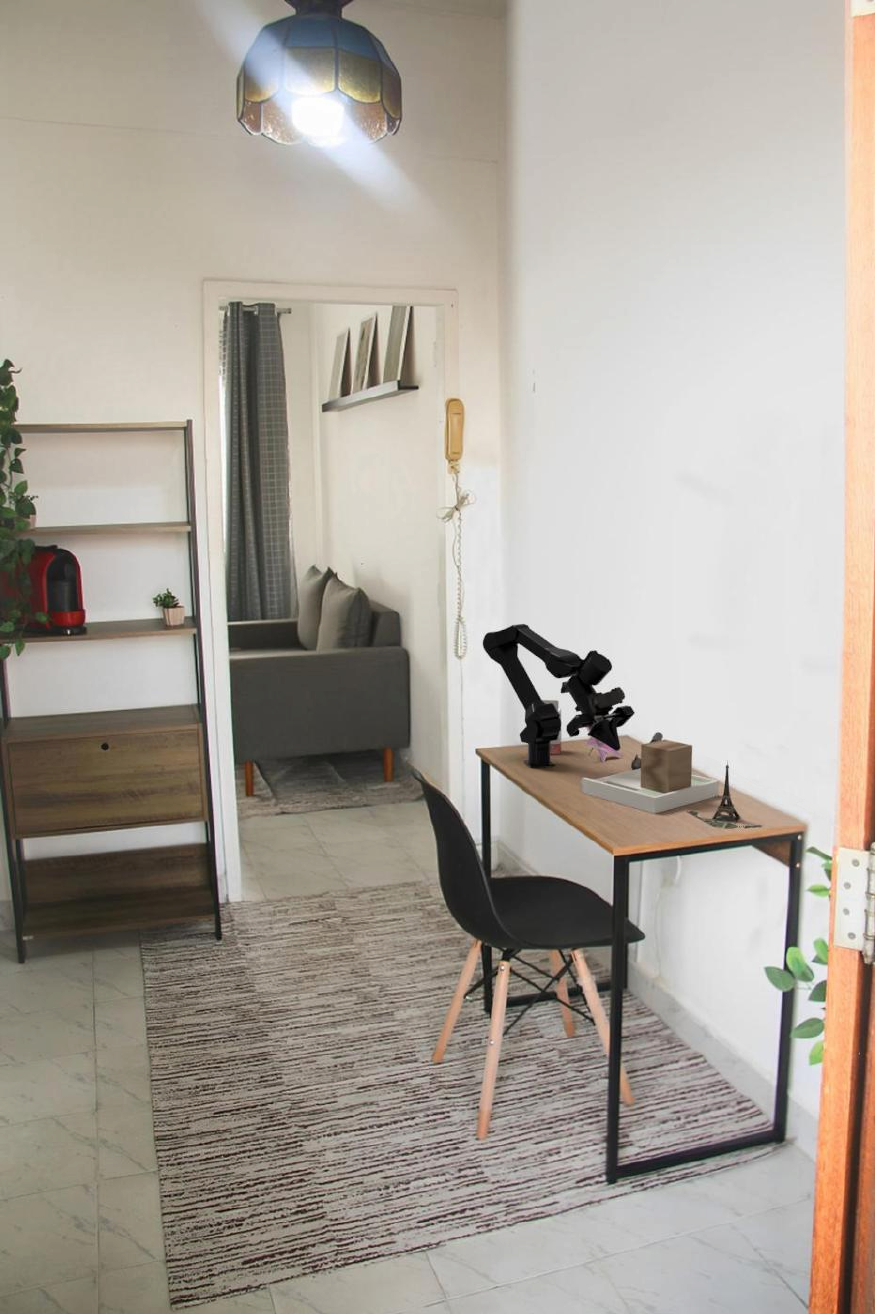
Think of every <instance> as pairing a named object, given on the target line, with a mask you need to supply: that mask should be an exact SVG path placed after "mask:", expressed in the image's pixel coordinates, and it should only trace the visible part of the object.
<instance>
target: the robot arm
mask: <svg viewBox="0 0 875 1314" xmlns="http://www.w3.org/2000/svg"><path fill="white" fill-rule="evenodd" d="M519 645H521V647H523V648H525V649H526V650H527V651H529V652H530V653H531V654H533V656H535V657H536V658H538V659H539V660H541V661H542V662H543V663H544V665H545V669H546V670H547V671H548V672H549V673H550V674H551V675H552V676H553V677H554V679H563V678H568V680H566V681H563V682H561V688H560V694H567V693H568V694H569V695H570V696H571V698H572V699H573V701H574V703H575V704H576V706H575V707H574V710H575V712H576V713H577V712H580V714H575V716H574V717H573V718H572V719H571V720H570V721H569V722H568V724H567V725H566V732H567V734H568V736H569V737H570V738H573V737H577V736H579V735H580V733H581V731H580V729H583V728H586V727H589V730H590V732H588V733H587V736H588V737H591V736H592V737H594V738H595V739H597V740H599V741H601V742H603V743H604V744H606V745H607V746H609V747H611V748H612V749H614V750H615V751H620V750H621V744H620V739H619V734H618V728H621V727H623V726H624V725H625V724H626V723H627V722H628V721H629V720H630V719H631V718H632V717H633V716H634V715H635V713H636V712H635V711H634V709H633V708H632V706H631V705H621V706H618V707H616V708H615V709H614V707H613V706H615V705H618V704H623V703H624V700H625V698H626V694H625V692H624V690H623V689H622V688H621V687H620V686H618V687H614V688H612V689H611V690H610V691H607V692H597V690H596V689H595V688H594V686H599V684H600V683H601V682H602V681H603V680H604V679H605V677H607V675H608V674H609V673H610V672H611V671H612V669H613V665H612V662H611V660H610V659H609V658H608V657H606V656H605V655H603V654H601V653H598V650H596V649H595V650H590V651H589V652H588V653H587V655H586V656H585V657H584V658H581V657H580V655H579V654H577V653H575V652H573V651H570V650H568V649H564V648H560V647H557V646H555V645H554V644H553V643H552V642H550V641H548V640H547V639H545V638H544V637H543V636H541V635H540V634H538V633H537V632H535V631H534V630H533V629H531V628H530V626H529V625H527V624H525V623H521V624H512V625H510V626H508V627H506V628H504V629H501V630H497V631H491V632H487V633H486V634H484V637H483V640H482V648H483V650H484V652H485V653H486V654H487V656H488V657H489V658H490V659H491V660H492V661H494V662H495V663H496V664H499V665H500V667H501V668H502V671H503V672H504V674H505V676H506V677H507V679H508V681H509V683H510V684H511V687H512V689H513V690H514V692H515V695H516V696H517V698H518V699H519V701H520V703H521V705H522V707H523V709H524V722H525V727H524V728H523V729H522V730H521V732H520V733H519V738H520V742H521V743H524V744H527V759H525V760H523V763H524V764H525V765H527V766H528V767H529V768H530V769H531V768H532V769H533V768H534V769H535V768H546V767H556V766H555V763H554V762H553V761H551V754H550V741H553V740H557V738H558V735H559V732H560V729H561V730H562V719H561V720H560V718H559V717H560V714H558V712H557V711H556V708H555V706H554V705H553V703H550V704H545V703H544V702H543V701H542V700H543V699H542V698H541V696H540V695H539V693H538V691H537V689H536V687H535V685H534V684H533V682H532V680H531V679H530V677H529V674H528V673H527V671H526V669H525V667H524V666H523V664H522V662H521V660H520V659H519V657H518V654H519ZM613 709H614V710H613ZM612 710H613V711H612ZM611 711H612V712H611ZM610 712H611V713H610Z"/></svg>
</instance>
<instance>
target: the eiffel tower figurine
mask: <svg viewBox="0 0 875 1314" xmlns="http://www.w3.org/2000/svg"><path fill="white" fill-rule="evenodd" d="M726 761H727V762H726V765H725V778H724V786H723V787H724V788H723V794H722V796H721V797H722V798H721V801H720V803H719V805H718V806H717V810H716V812H715V813H714V815H713V817H711V818H705V817H701V816H698V814H699V812H698V811H694V810H687V811H685V812H687V813H689V814H690V815H691V816H693V817H695V818H696V819H697V818H698V819H699V820H701V821H703V822H705V823H707V824H708V825H710V826H711V827H714V828H718V829H726V830H728V829H729V830H730V829H731V830H733V829H737V828H744V829H750V828H751V829H752V828H757V827H762V825H761V824H758V825H757V824H756V825H737V823H738V821H739V820H740V819H741V818H742V816H741V815H740V813H738V812H737V810H736V808H735V804H734V803H733V802H732V799H731V796H732V795H731V794H730V781H729V778H730V777H729V776H730V775H729V769H730V767H729V764H728V763H729V761H728V760H727V759H726ZM722 813H726V814H722ZM738 826H739V827H738ZM740 826H741V827H740ZM742 826H743V827H742ZM744 826H745V827H744Z"/></svg>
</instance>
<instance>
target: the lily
mask: <svg viewBox="0 0 875 1314" xmlns="http://www.w3.org/2000/svg"><path fill="white" fill-rule="evenodd" d="M585 728H586V730H587V732H588V733H589V732H590V730H589V727H585ZM585 742H586V743H585V746H587V747H590V748H591V749H590V750H589V752H588V754H587V756H590V755H591V752H592V751H593V750H594V749H596V750H597V751H598V754H599V756H600V758H601V762H602V763H604V762H605V760H606V758H607V756H608V754H610V755H612V756H614V757H617V758H619V759H622V758H623V757H622V755H621V752H620V750H618V751H615V750H614V749H612V748H611V747H609V746H607V745H606V744H604V743H603V742H601V741H599V740H597V739H595V738H594V737H592V736H589V737H588V740H586V741H585Z"/></svg>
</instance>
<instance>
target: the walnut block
mask: <svg viewBox="0 0 875 1314" xmlns="http://www.w3.org/2000/svg"><path fill="white" fill-rule="evenodd" d="M640 748H641V749H640V752H641V753H640V759H641V765H640V768H641V788H645V789H649V790H652V791H656V792H660V793H664V794H665V793H669V792H673V791H677V790H680V789H684V788H688V787H691V774H692V773H693V772H692V771H693V770H692V768H693V766H692V765H693V764H692V763H693V745H691V744H687V743H682V742H678V741H674V740H668V739H662V740H660V741H656V742H651V743H650V742H646V743H643V744H641V747H640ZM692 775H693V774H692Z"/></svg>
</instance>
